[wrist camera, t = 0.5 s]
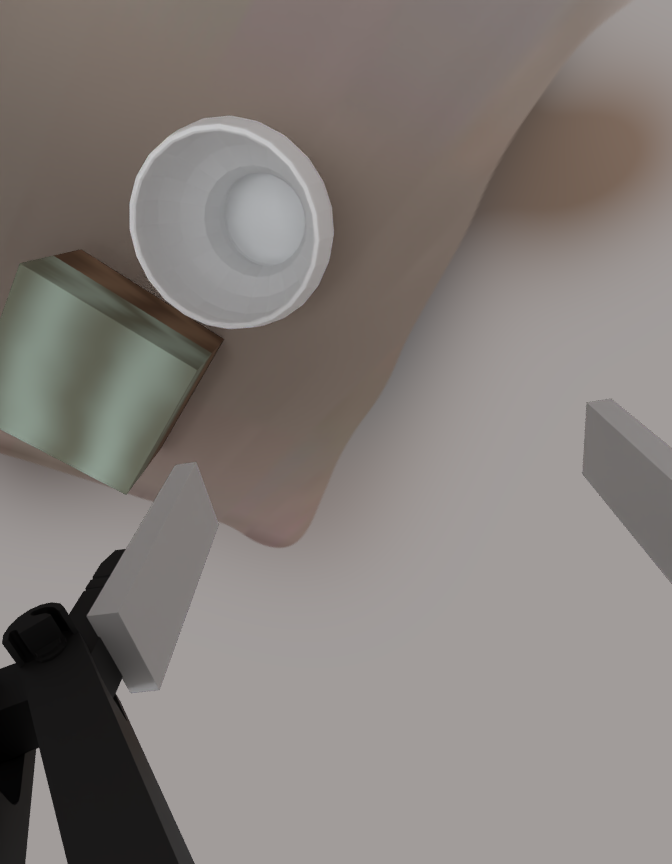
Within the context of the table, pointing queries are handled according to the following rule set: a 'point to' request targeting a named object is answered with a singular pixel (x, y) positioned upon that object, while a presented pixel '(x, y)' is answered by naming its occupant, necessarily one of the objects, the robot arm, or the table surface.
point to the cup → (231, 222)
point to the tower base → (95, 366)
